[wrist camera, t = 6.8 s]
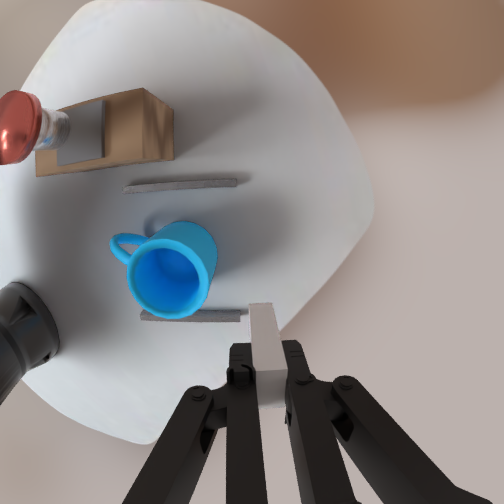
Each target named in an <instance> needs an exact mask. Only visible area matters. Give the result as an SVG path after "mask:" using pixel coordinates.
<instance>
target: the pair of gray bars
mask: <svg viewBox="0 0 504 504" xmlns="http://www.w3.org/2000/svg"><path fill="white" fill-rule="evenodd" d="M217 187H236V179H217V180H196V181H179V182H165V183H153V184H142V185H132V186H125V187H122V191H123V194H127V193H138V192H149V191H162V190H177V189H195V188H217ZM140 318H141V320H148V321H175V322H240V311H195V312H194V313H193V314H192V315H189V316H186V317H183V318H180V319H166V318H162V317H158V316H155V315H153V314H152V313H150V312H148V311H147V310H145V309H143V311H142V312H141V314H140Z"/></svg>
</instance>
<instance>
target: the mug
mask: <svg viewBox="0 0 504 504" xmlns="http://www.w3.org/2000/svg"><path fill="white" fill-rule="evenodd" d="M119 244H135V245H140V246H139V248H138V249H137V250H136V251H135V252H134V253H133V254H132V255H131V254H129V253H128V252H126V251H125V250H124V249H122V248H121V247H120V246H119ZM110 249H111V252H112V253H113V254H114V255H115V257H116V258H117V259H119V260H120V261H121V262H123V263H124V264H126V265H127V281H128V286H129V289H130V291H131V293H132V295H133V297H134V298H135V300H136V301H137V302H138V303H139V304H140V305H141V306H142V307H143V308H144V309H145V310H147V311H148V312H150V313H152V314H153V315H155V316H158V317H162V318H166V319H180V318H183V317H186V316H189V315H192V314H193V313H194V312H195V311H197V310H198V309H199V308H200V307H201V306H202V304H203V303H204V301H205V299H206V298H207V295H208V291H209V288H210V284H211V281H212V278H213V274H214V271H215V267H216V263H217V259H218V255H217V247H216V245H215V242H214V240H213V238H212V237H211V235H210V234H209V233H208V232H207V231H206V230H205V229H204V228H202V227H201V226H199V225H197V224H195V223H191V222H187V221H180V222H173V223H171V224H169V225H167V226H165V227H163V228H162V229H161V230H159V231H158V232H157V233H156V234H154V235H153V236H152V237H150V238H148V237H145V236H141V235H136V234H130V233H121V234H117V235H115V236H114V237H113V238H112V239H111V240H110Z"/></svg>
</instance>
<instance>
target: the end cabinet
mask: <svg viewBox="0 0 504 504" xmlns="http://www.w3.org/2000/svg"><path fill="white" fill-rule="evenodd" d="M56 111H59V112H63V113H65V114H67V115H68V117H69V119H70V123H71V130H70V134H69V137H68V139H67V141H66V143H65V144H64V145H63V146H62V147H61V148H60V149H58V150H39V151H35V162H36V177H41V176H49V175H57V174H65V173H74V172H85V171H91V170H97V169H103V168H110V167H117V166H124V165H132V164H141V163H149V162H159V161H170V160H174V143H173V109H172V108H170V107H169V106H168V105H166V104H165V103H164V102H162V101H161V100H159V99H158V98H157V97H155V96H154V95H153V94H151V93H150V92H148V91H147V90H146V89H144V88H139V89H134V90H129V91H124V92H120V93H115V94H111V95H107V96H103V97H99V98H95V99H91V100H88V101H84V102H81V103H78V104H74V105H71V106H68V107H65V108H62V109H59V110H56Z"/></svg>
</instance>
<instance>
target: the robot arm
mask: <svg viewBox="0 0 504 504" xmlns="http://www.w3.org/2000/svg"><path fill="white" fill-rule="evenodd" d="M249 337H250V343H233V345H232V346H231V348H230V354H229V368H228V369H227V372H226V373H227V383H226V384H225V385H224V386H223V387H221V388H218V389H215V390H210V389H209V388H208V387H205V386H193V387H190V388H189V389H187V390H186V391H185V393H184V395H183V396H182V398H181V400H180V402H179V404H178V405H177V407H176V409H175V411H174V413H173V414H172V416H171V418H170V420H169V421H168V423H167V425H166V427H165V429H164V430H163V432H162V434H161V436H160V437H159V439H158V441H157V443H156V445H155V446H154V448H153V450H152V452H151V453H150V456H149V457H148V459H147V461H146V462H145V464H144V466H143V468H142V469H141V471H140V473H139V475H138V476H137V478H136V480H135V482H134V483H133V485H132V487H131V489H130V490H129V492H128V494H127V496H126V498H125V499H124V501H123V503H122V504H189V502H190V499H191V497H192V494H193V492H194V490H195V487H196V485H197V482H198V480H199V477H200V475H201V472H202V470H203V467H204V465H205V462H206V460H207V457H208V454H209V452H210V449H211V447H212V444H213V441H214V439H215V436H216V434H217V431H218V429H219V428H223V427H227V436H226V437H227V438H226V439H227V440H226V504H268V500H267V490H266V481H265V471H264V461H263V451H262V440H261V430H260V420H259V409H268V408H282V407H285V404H286V416H285V424H287V425H288V431H289V436H290V442H291V447H292V453H293V458H294V464H295V469H296V475H297V481H298V486H299V492H300V497H301V503H302V504H362V503H360V502H357V500H356V499H355V496H354V493H353V490H352V487H351V483H350V480H349V477H348V474H347V471H346V468H345V464H344V461H343V458H342V455H341V452H340V449H339V445H338V442H337V439H338V440H339V442H340V443H341V445H342V446H343V448H344V449H345V450H346V452H347V453H348V455H349V456H350V458H351V459H352V461H353V462H354V463H355V465H356V466H357V468H358V469H359V471H360V472H361V473H362V475H363V476H364V478H365V479H366V480H367V482H368V483H369V484H370V486H371V487H372V488H373V490H374V491H375V493H376V494H377V495H378V497H379V498H380V499H381V501H382V502H383V503H384V504H492V502H490V501H489V500H487V499H484V498H482V497H480V496H477V495H474V494H472V493H470V492H468V491H465V490H463V489H461V488H458V487H456V486H455V485H454V484H453V483H452V482H451V481H450V480H449V479H448V478H447V477H446V476H445V474H444V473H443V472H442V471H441V470H440V469H439V468H438V467H437V466H436V465H435V464H434V463H433V462H432V461H431V459H430V458H428V456H427V455H426V454H425V453H424V452H423V451H422V450H421V449H420V448H419V447H418V445H417V444H416V443H415V442H414V441H413V440H412V439H411V438H410V437H409V436H408V435H407V434H406V432H405V431H404V430H403V429H402V428H401V427H400V426H399V425H398V424H397V423H396V422H395V421H394V419H393V418H392V417H391V416H390V415H389V414H388V413H387V412H386V411H385V410H384V409H383V407H382V406H381V405H379V403H378V402H377V401H376V400H375V399H374V398H373V397H372V395H371V394H369V392H368V391H367V390H366V389H365V388H364V387H363V386H362V385H361V383H360V382H359V381H358V380H357V379H355V378H354V377H351V376H345V375H344V376H339V377H337V378H335V380H334V381H333V382H324V381H320V380H318V379H316V378H315V376H314V375H313V374H311V373H310V370H309V367H308V364H307V361H306V358H305V355H304V352H303V349H302V346H301V344H300V343H299V342H298V341H296V340H285V341H281V338H280V334H279V330H278V326H277V322H276V317H275V313H274V309H273V305H272V303H252V304H249ZM58 347H59V336H58V331H57V328H56V325H55V323H54V320H53V318H52V316H51V314H50V313H49V311H48V309H47V308H46V306H45V305H44V303H43V302H42V301H41V300H40V298H39V297H38V296H37V295H36V294H35V293H34V292H33V291H32V290H30V289H29V288H28V287H26V286H24V285H22V284H20V283H10V284H8V285H7V286H5V287H4V288H2V289H1V290H0V405H1V404H2V402H3V401H4V400H5V399H6V397H7V396H8V395H9V393H10V392H11V391H12V389H13V388H14V387H15V385H16V384H17V383H18V382H19V380H20V379H21V378H22V377H23V375H24V374H25V373H26V372H27V371H29V370H32V369H34V368H36V367H38V366H40V365H42V364H44V363H46V362H48V361H49V360H50V359H51V358H52V357H53V356H54V355H55V354H56V352H57V350H58ZM336 438H337V439H336Z"/></svg>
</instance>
